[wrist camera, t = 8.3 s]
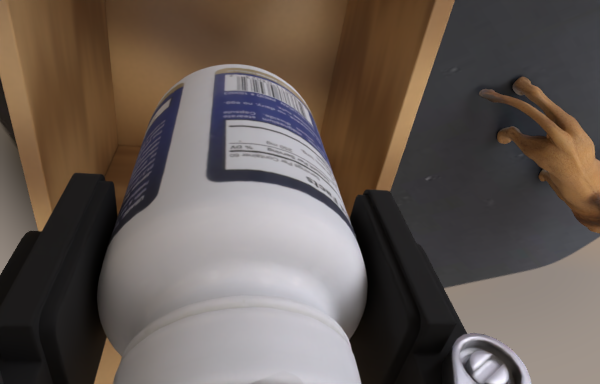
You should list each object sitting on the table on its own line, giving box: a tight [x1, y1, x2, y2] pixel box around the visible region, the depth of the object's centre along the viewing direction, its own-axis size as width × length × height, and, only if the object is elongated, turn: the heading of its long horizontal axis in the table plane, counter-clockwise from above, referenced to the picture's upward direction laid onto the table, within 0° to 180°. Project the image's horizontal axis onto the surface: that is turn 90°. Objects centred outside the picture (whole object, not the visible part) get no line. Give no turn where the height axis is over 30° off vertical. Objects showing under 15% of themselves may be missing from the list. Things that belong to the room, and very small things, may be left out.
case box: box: [0, 0, 455, 231], centre depth 21 cm, size 15×14×12 cm
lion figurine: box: [479, 77, 600, 233], centre depth 29 cm, size 15×5×9 cm, turn 56°
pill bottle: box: [97, 64, 368, 384], centre depth 10 cm, size 5×5×10 cm
